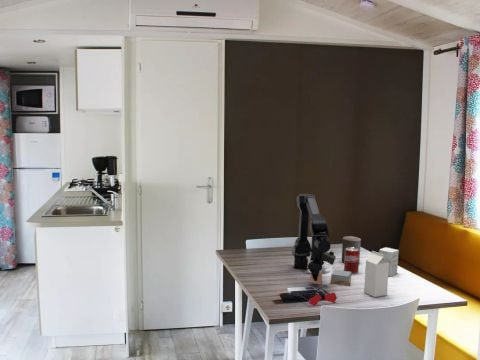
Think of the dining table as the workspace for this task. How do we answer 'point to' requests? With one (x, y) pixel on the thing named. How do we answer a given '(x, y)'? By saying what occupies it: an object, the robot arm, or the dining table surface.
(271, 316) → the dining table surface
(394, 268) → the supplement box
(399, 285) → the dining table surface
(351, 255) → the soda can
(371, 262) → the milk carton
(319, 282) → the block
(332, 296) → the glasses
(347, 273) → the tower top
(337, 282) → the tower base
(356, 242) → the pillar candle
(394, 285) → the dining table surface
